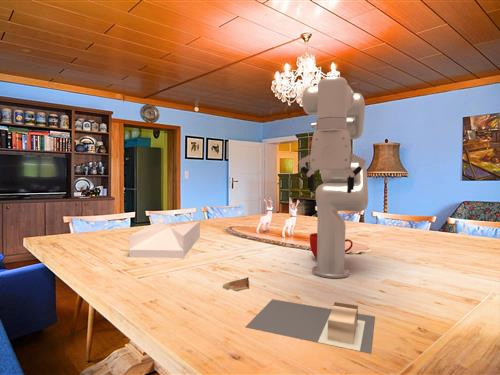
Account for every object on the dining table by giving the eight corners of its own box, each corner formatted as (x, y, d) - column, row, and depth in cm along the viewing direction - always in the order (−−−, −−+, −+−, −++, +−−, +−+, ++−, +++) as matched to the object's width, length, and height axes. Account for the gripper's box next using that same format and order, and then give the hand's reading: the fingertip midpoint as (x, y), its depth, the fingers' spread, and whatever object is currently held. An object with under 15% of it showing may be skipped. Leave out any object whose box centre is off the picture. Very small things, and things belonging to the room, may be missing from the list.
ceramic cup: (354, 266, 124) (354, 239, 124) (308, 263, 128) (309, 237, 127) (350, 257, 137) (351, 234, 137) (309, 255, 140) (310, 232, 140)
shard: (248, 281, 106) (248, 276, 106) (264, 287, 101) (265, 281, 101) (221, 289, 99) (221, 283, 99) (238, 295, 93) (238, 289, 93)
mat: (272, 301, 88) (272, 298, 88) (375, 318, 78) (375, 316, 78) (244, 329, 72) (244, 326, 72) (370, 356, 62) (370, 353, 62)
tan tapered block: (353, 344, 65) (353, 323, 65) (327, 339, 67) (327, 319, 67) (357, 323, 74) (357, 305, 74) (334, 319, 76) (334, 302, 76)
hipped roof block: (183, 258, 134) (183, 235, 134) (129, 258, 134) (129, 235, 134) (199, 238, 179) (199, 220, 179) (159, 237, 179) (159, 220, 179)
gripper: (295, 126, 85) (294, 192, 86) (365, 123, 78) (364, 194, 79) (302, 129, 92) (301, 190, 93) (367, 126, 85) (366, 192, 86)
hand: (330, 192), depth 86 cm, fingers open, 9 cm apart
